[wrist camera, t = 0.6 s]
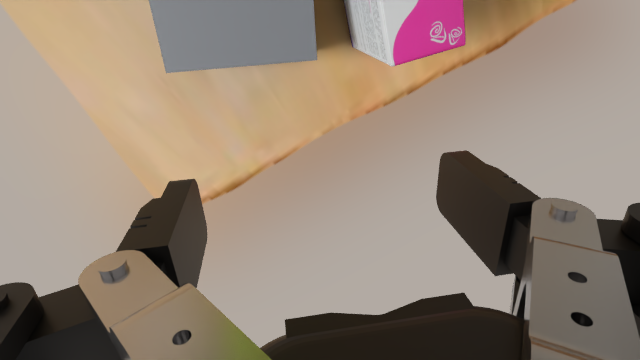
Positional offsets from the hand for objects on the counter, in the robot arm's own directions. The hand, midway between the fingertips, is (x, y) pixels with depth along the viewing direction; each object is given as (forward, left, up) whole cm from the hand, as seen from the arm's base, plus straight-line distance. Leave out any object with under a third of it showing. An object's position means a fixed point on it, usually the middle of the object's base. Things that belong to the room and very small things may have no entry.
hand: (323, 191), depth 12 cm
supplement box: (-4, +9, -26) cm, 28 cm away
